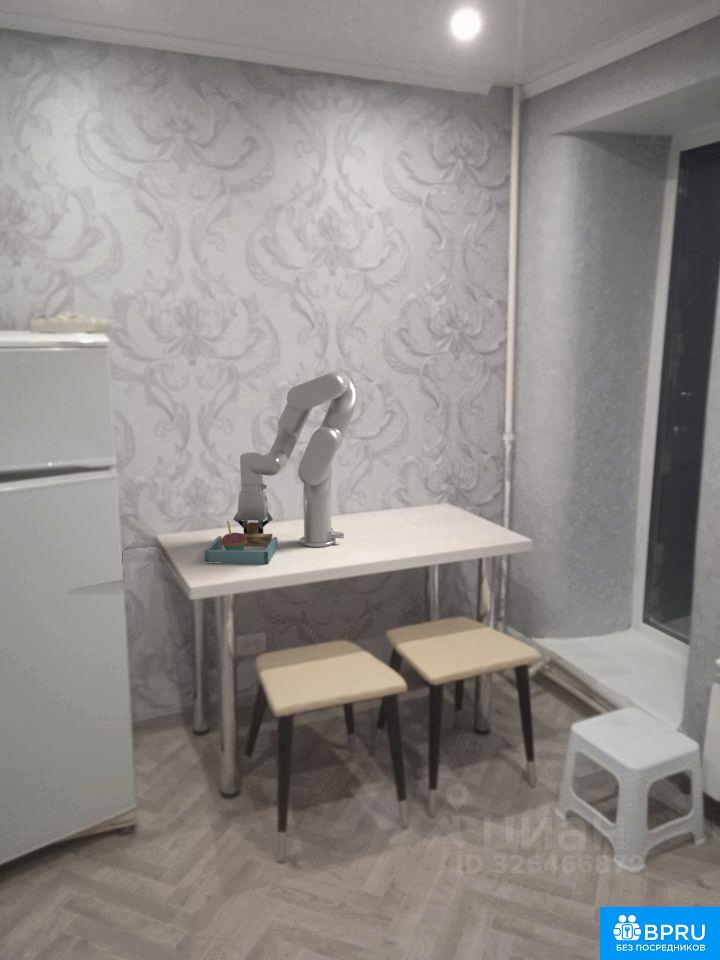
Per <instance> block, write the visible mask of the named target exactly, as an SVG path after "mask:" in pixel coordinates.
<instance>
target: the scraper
mask: <svg viewBox="0 0 720 960" xmlns="http://www.w3.org/2000/svg"><path fill="white" fill-rule="evenodd" d="M258 529H259V523H258V522H251V521H250V522H249V521H248V524H247V534H244V533H242V534H243V535H244V536H246V538H247V544H246V545H245V546H268V545H269V544H270V542H271V541H272V539H273V533H263V534H258Z"/></svg>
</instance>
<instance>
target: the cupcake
mask: <svg viewBox="0 0 720 960" xmlns="http://www.w3.org/2000/svg"><path fill="white" fill-rule="evenodd" d="M226 522H227V523H226V524H227V528H228V529H227V530H228V533H226V534H225V535H223V536H222V539H221V544H222V547H224V550H238V551H244V547H245V546H247V545H246V544H247V538H246V536H244V535H243V534H244V533H241V532H232V530H231V526H230V522H229V520H228V519H226Z"/></svg>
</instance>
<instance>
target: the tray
mask: <svg viewBox="0 0 720 960" xmlns="http://www.w3.org/2000/svg"><path fill="white" fill-rule="evenodd" d="M222 538H223V536H221V535H218V536H216V538H214V540H213V541H212V542H211V543H210V545H208V546H207V548H206V549H205V550H204V555H203V556H204V563H205V562H221V563H220V564H229V563H243V564H242V565H244V563H245V565H247V564H248V565H269V563H270V561H271V560H272V559H273V557H274V555H275V553H276V552H277V550H278V549H279V548H278V537H277V536H273V537H272V541H271V542H270V544H269V545H267V547H266V548H265V550H242V551H238V550H226V549H224V550H223V549H222V548H223V545H222V544H221V539H222Z"/></svg>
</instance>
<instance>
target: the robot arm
mask: <svg viewBox="0 0 720 960" xmlns="http://www.w3.org/2000/svg"><path fill="white" fill-rule="evenodd" d="M327 402H330V403H329V406H328V408H327V410H326V413H325V415H324V417H323V420H322V422H321V424H320V426H319V428H318V429H317V430H315V431H314V432H313V434H312V436H311V437H310V439H309V441H308V443H307V446H306V448H305V450H304V454H303V455H302V458H301V460H300V461H299V462H300V463H299V464H298V467H297V473H298V477H299V480H300V481H301V482H302V483H303V486H302V487H303V494H302V495H303V536H302V537H300V539H299V543H300V544H301V545H302V546H306V547H311V548H323V547H324V548H325V547H330V546H332V545H334V544H335V543H336V542H337V541H336V539H344V538H345V534H344V533H345V532H342V531H334V527H332V474H333V473H332V469H333V468H332V462H333V461H334V458H335V456H336V453H337V452H338V450H339V449H340V447H341V445H342V443H343V441H344V440H343V439H344V437H345V434H346V433H347V430H348V427H349V424H350V421H351V420H352V417H353V414H354V412H355V408H356V404H357V393H356V388H355V386H354V384H353V382H352V381H351V379H350V378H349V377H348V376H347V375H346V374H345V373H343V372H341V371H337V370H336V371H331V372H327V373H326V374H325V373H324V374H323V375H320V376H318V377H316V378H314V379H310V380H309V381H305V382H303V383H299V384H297V385H295V386H292V387H291V388H290V389H289V391H288V392H287V395H286V405H285V407H284V408H283V410H282V412H281V415H280V417H279V420H278V422H277V433H276V436H275V439H274V442H273V444H272V446H271V447H270V450H269V452H268V453H266V454H263V455H262V454H261V453H259V452H256V451H255V452H252V451H251V452H244V453H242V454H240V455H239V467H240V469H239V470H240V491H239V492H238V501H237V503H238V504H237V512H236V514H235V515H234V517H233V519H232V520H233V521H234V522H235V523H238V525H240V526H241V528H242V529H243V534H247V524H248V523H249V521H257V523H259V529H258V534H264V527H265V526H267V524H268V523H270V522H272V521H273V520H274V518H273V516H272V514H270V512H269V508H268V506H269V505H268V499H267V492H266V491H265V489H268V485H267V484H265V483H264V481H263V479H264V478H263V476H267V477H274V476H276V475H278V474H279V473H281V471H282V470H284V469H285V468H286V466H287V465H288V462H289V461H290V458H291V456H292V454H293V452H294V451H295V450H294V449H295V447H296V446H297V444H298V443H297V442H298V440H299V439H300V437H301V436H300V435H301V433H302V431H303V428H304V427H305V424H306V422H307V420H308V418H309V416H310V414H311V411H312V410H313V409H314V408H315V407H318V406H320V405H322V404H326V403H327Z"/></svg>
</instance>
